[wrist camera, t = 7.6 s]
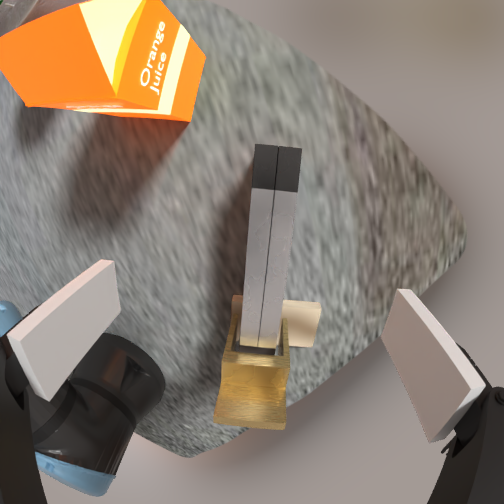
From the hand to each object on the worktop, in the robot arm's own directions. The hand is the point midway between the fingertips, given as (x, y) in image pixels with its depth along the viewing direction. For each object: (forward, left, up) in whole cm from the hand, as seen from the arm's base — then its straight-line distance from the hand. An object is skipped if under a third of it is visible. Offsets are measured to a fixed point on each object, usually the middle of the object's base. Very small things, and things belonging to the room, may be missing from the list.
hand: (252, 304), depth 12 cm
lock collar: (-11, -1, -14) cm, 18 cm away
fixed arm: (-1, 0, -18) cm, 18 cm away
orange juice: (+14, +12, -18) cm, 25 cm away
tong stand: (-12, -2, -18) cm, 21 cm away
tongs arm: (-1, -2, -18) cm, 18 cm away
